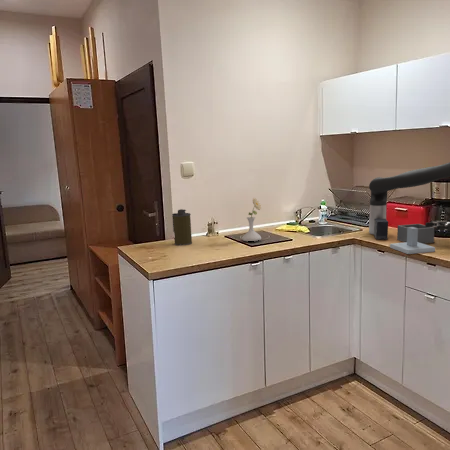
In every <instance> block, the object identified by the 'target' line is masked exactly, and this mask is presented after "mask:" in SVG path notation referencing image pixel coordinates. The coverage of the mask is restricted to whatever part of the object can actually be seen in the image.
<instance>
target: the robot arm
mask: <svg viewBox="0 0 450 450" xmlns="http://www.w3.org/2000/svg"><path fill="white" fill-rule="evenodd" d="M446 178H450V162H446V163H443V164H440V165H435V166H428V167H423V168H417V169H412V170H408V171H404V172H402V173H399V174H397V175H394V176H387V177H380V176H379V177H375V178H372V180H371V181H370V182H369V185H368V188H369V190H370V199H369V217H368V218H369V219H368V233H369V234H371V235H374V219H386V220H387V201H388V192H389V191H392V190H397V189H405V188H406V189H407V188H414V187H419V186H424V185H427V184H430V183H433V182H435V181H437V180H441V179H446ZM424 225H425V226H426V227H434V228H436V230H437V231H448V232H450V218H448V220H430V222H425V224H424Z"/></svg>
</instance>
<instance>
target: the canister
mask: <svg viewBox="0 0 450 450" xmlns="http://www.w3.org/2000/svg"><path fill="white" fill-rule="evenodd" d="M186 211H187V210H186V209H183V208H180V209H178V210H177V212H173V213H172V215H171V216H172V231H173V236H174V245H175V246H180V247H181V246H189V245H192V244H193V239H192V236H193V235H192V224H191V221H192V220H191V213H190V212H186Z"/></svg>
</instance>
